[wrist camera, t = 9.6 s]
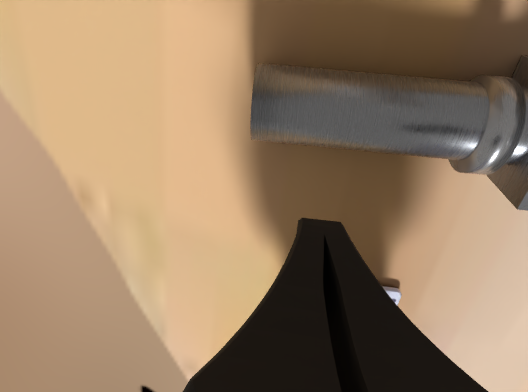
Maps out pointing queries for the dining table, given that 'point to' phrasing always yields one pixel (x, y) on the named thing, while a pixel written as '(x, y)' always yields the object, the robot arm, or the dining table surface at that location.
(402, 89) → the valve pipe
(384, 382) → the robot arm
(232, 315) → the dining table surface
